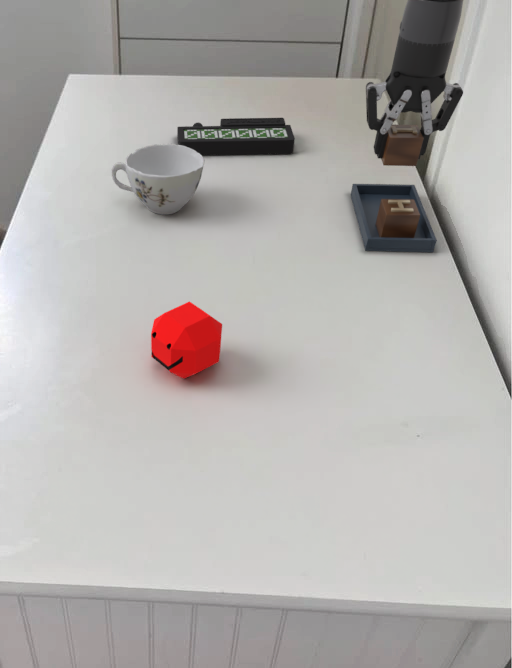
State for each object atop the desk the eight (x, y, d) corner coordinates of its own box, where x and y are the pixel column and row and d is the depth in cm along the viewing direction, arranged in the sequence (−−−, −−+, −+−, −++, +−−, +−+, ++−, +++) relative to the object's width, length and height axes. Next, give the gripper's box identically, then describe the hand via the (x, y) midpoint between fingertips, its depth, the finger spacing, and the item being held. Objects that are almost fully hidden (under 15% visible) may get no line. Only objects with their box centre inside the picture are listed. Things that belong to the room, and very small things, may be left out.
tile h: (407, 224, 113) (414, 197, 110) (413, 241, 110) (420, 213, 107) (375, 224, 114) (381, 196, 110) (380, 240, 110) (386, 212, 107)
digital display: (288, 114, 137) (295, 137, 130) (285, 132, 139) (293, 155, 133) (177, 116, 137) (178, 139, 130) (176, 133, 139) (178, 157, 133)
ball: (141, 361, 92) (140, 311, 86) (190, 338, 95) (191, 288, 89) (181, 394, 87) (182, 343, 82) (230, 368, 90) (234, 317, 85)
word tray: (411, 196, 121) (414, 184, 119) (433, 252, 109) (437, 240, 107) (350, 195, 121) (352, 183, 120) (365, 251, 109) (367, 238, 108)
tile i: (410, 152, 113) (418, 122, 110) (416, 166, 110) (424, 136, 107) (378, 151, 114) (385, 122, 110) (383, 165, 110) (390, 135, 107)
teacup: (207, 192, 123) (209, 144, 117) (196, 228, 114) (198, 178, 109) (121, 185, 125) (119, 138, 119) (105, 220, 117) (101, 171, 111)
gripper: (379, 41, 97) (354, 166, 109) (487, 42, 96) (449, 168, 109) (371, 24, 102) (348, 146, 114) (474, 24, 101) (439, 147, 114)
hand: (397, 156), depth 111 cm, fingers closed on tile i, 5 cm apart
